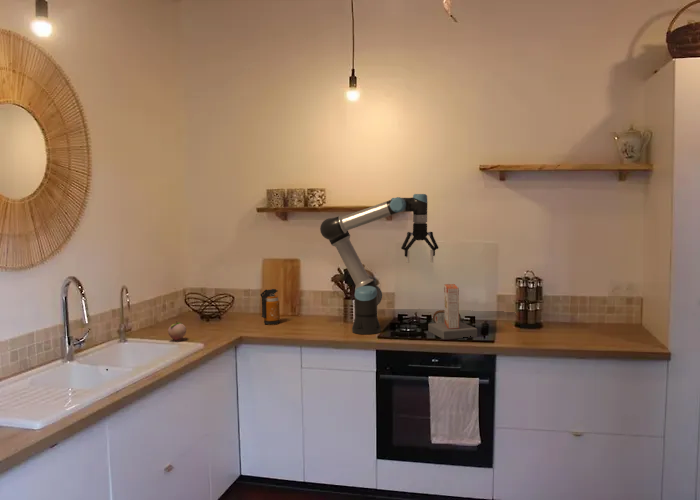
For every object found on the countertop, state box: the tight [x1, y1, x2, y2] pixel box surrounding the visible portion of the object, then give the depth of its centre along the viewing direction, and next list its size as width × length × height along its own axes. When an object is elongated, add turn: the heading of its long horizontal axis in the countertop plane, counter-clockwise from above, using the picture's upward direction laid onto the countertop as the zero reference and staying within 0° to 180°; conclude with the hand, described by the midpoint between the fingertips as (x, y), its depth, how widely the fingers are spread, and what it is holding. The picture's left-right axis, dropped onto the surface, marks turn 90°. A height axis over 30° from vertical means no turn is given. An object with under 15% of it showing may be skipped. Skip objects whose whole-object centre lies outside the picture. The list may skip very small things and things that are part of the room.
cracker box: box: [443, 283, 460, 329], centre depth 299 cm, size 14×6×21 cm, turn 178°
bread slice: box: [432, 309, 462, 323], centre depth 321 cm, size 15×3×8 cm, turn 84°
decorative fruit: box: [167, 321, 187, 341], centre depth 295 cm, size 9×8×10 cm
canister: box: [260, 288, 281, 325], centre depth 334 cm, size 9×11×20 cm
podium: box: [427, 320, 478, 340], centre depth 300 cm, size 18×20×4 cm
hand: (419, 262), depth 314 cm, fingers open, 13 cm apart
